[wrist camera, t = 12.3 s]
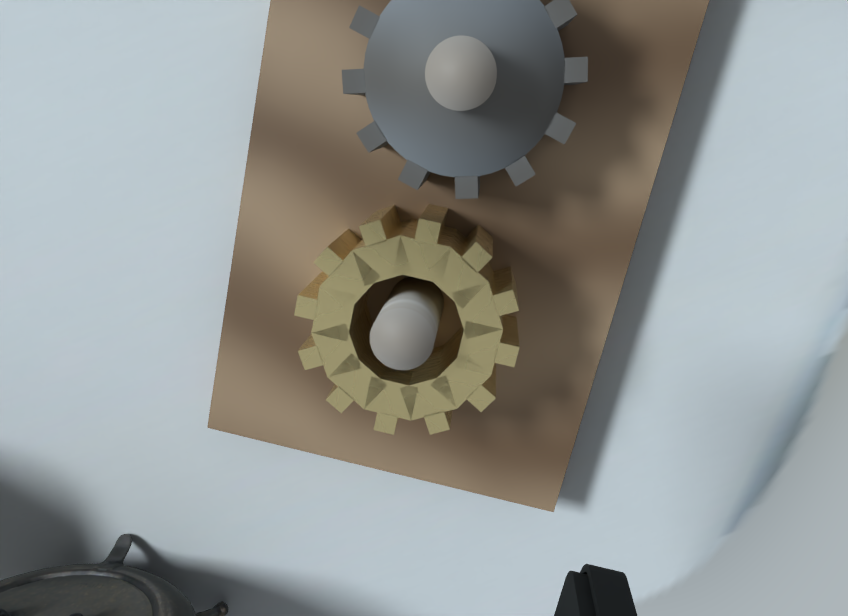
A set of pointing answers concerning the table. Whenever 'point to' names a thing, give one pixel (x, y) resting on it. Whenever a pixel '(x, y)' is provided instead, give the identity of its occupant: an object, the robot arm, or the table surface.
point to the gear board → (449, 211)
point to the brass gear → (448, 364)
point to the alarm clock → (96, 591)
